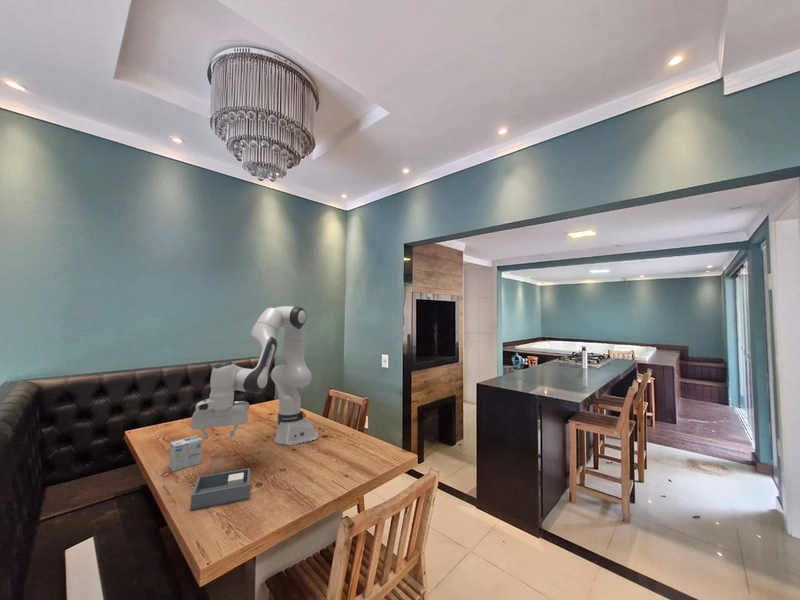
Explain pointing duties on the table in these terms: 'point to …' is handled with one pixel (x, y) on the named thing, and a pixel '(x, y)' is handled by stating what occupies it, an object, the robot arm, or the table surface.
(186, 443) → the light bulb box
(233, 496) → the box
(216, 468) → the tan rounded cylinder
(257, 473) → the table surface
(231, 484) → the cream cube
